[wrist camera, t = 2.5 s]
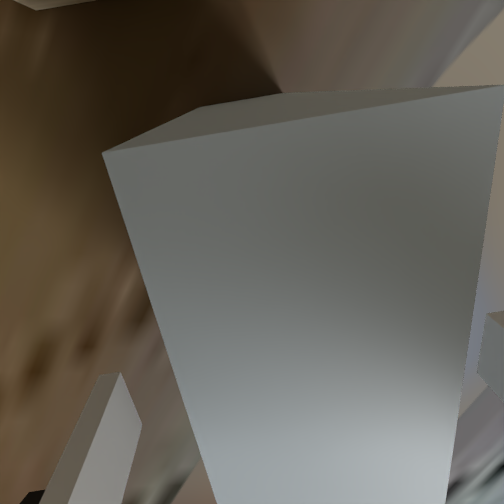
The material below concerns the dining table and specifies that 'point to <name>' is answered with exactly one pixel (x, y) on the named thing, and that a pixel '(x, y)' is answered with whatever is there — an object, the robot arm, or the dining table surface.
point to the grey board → (317, 282)
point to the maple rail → (49, 3)
